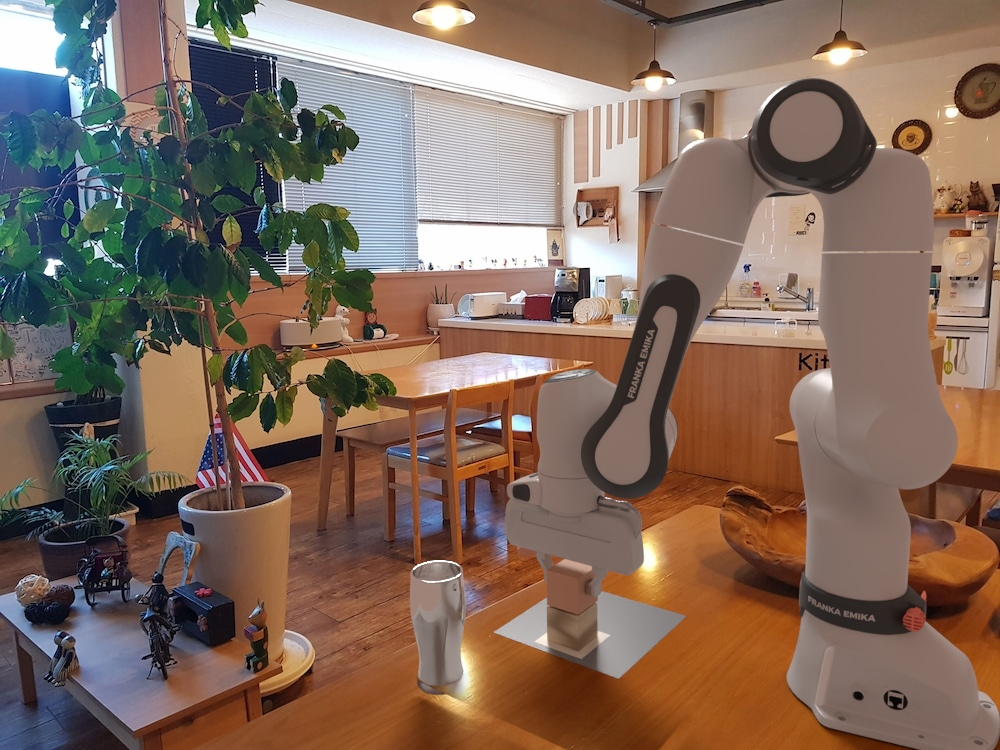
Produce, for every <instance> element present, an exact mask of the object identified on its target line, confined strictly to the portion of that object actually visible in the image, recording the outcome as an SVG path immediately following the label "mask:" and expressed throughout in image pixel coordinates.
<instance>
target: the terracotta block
mask: <svg viewBox="0 0 1000 750" xmlns="http://www.w3.org/2000/svg"><path fill="white" fill-rule="evenodd" d="M595 575H596V574H594V573H592V566H589V565H585V564H582V563H578V562H574V561H571V560H567V559H562V560H561V561H559V562H557V563H556V564H554V566H552V567H551V568H549V569H547V570H546V577H547V582H546V598H547V605H549V606H552V607H556V608H559V609H562V610H565V611H568V612H571V613H574V614H577V615H579V614H580V613H581V612H583V611H584V610H585V609H587V608H588V607H590V606H591V605H592V604H594V603H595V602H597V601H598V596H597V597H594V596H590V595H587V594H586V593H585V591H586V588H585V583H586V582H587V581H590V579H592V578H593V579H594V577H595Z"/></svg>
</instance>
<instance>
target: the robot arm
mask: <svg viewBox="0 0 1000 750" xmlns="http://www.w3.org/2000/svg"><path fill="white" fill-rule="evenodd" d="M877 145H878V142H877V138H876V137H875V135H874V134H873V131H872V130H871V128H870V126H869V124H868V123H867V121H866V119H865V117H864V116H863V113H862V112H861V109H860V108H859V106H858V104H857V102H856V101H855V100H854V98H853V97H852V96H851V95H850V94H849V92H848V91H847V90H846V89H844V88H843V87H841V86H840V85H839V84H837V83H835V82H833V81H830V80H828V79H825V78H824V79H823V78H814V77H813V78H812V77H810V78H809V77H808V78H801V79H796V80H794V81H791V82H789V83H787V84H785V85H783V86H781V87H779V88H777V89H776V90H775V91H773V92H772V93H771V94H770V95H769V96H768V97H767V98H766V99H765V100H764V102H763V103H762V104H761V105H760V107H759V108H758V111H757V112H756V114H755V117H754V118H753V122H752V125H751V131H750V132H749V133H747V134H746V135H744V136H743V137H740V138H736V139H728V138H724V137H718V136H717V137H716V136H715V137H705V138H701V139H697V140H695V141H692V142H691V143H689V144H687V145H686V146H684V148H683V149H682V151H681V152H680V154H679V155H678V157H677V159H676V162H675V163H674V165H673V168H672V169H671V172H670V173H669V176H668V178H667V181H666V183H665V185H664V188H663V190H662V192H661V196H660V199H659V201H658V204H657V205H656V206H657V207H656V209H655V213H654V216H653V219H652V223H651V226H650V230H649V234H648V237H647V242H646V246H645V247H646V248H645V253H644V257H643V258H644V259H643V265H642V273H641V282H640V292H639V299H638V309H637V314H636V321H635V326H634V329H633V333H632V336H631V339H630V343H629V346H628V349H627V352H626V355H625V359H624V361H623V366H622V368H621V371H620V375H619V377H618V382H617V384H615V383H613V382H611V381H610V380H609V379H607V378H605V377H603V375H601V373H600V372H598V371H597V370H595V369H591V368H590V369H589V368H579V369H572V370H566V371H562V372H560V373H556V374H553V375H552V376H550V377H549V378H547V379H545V381H543V383H542V384H541V386H540V389H539V393H538V399H537V407H536V408H537V409H536V439H537V443H538V446H539V452H540V453H539V460H538V463H537V472H535V473H531V474H529V475H528V474H527V475H526V476H522V477H520V478H518V479H516V480H514V481H512V482H510V483H508V484H507V486H506V493H507V497H508V498H509V500H508V501H507V503H506V506H505V515H504V518H505V519H504V521H505V522H504V525H505V526H504V529H505V537H506V539H507V541H508V542H509V544H510V545H512V546H516V547H518V548H519V547H520V548H524V549H526V550H531V551H535V552H536V560H537V562H538V563H539V565H540V567H541V569H542V571H543V581H544V583H547V577H546V570H547V569H549V568H551V567H552V566H554V565H555V563H554V562H553V559H552V557H555V558H560V559H562V560H564V559H567V560H571V561H574V562H578V563H582V564H585V565H589V566H592V573H594V574H596V575H595V577H594V579H593V578H592V579H590V581H587V582H586V583H585V588H586V591H585V593H586V594H587V595H590V596H594V597H597V596H598V595H600V594H601V591H602V582H603V581H604V579H605V577H606V576H607V574H608V572H611V573H615V574H619V575H622V576H630V575H631V574H633V573H635V572H636V571H637V570H639V569H640V568H641V567H642V566H643V564H644V562H645V553H644V542H643V534H642V529H643V522H642V521H643V518H642V513H640V511H639V510H638V508H636V507H635V506H633V505H632V503H631V502H629V501H626V500H627V499H628V500H629V499H630V500H631V499H633V500H634V499H638V498H642V497H645V496H647V495H648V494H650V493H652V492H653V491H655V490H656V489H657V488H658V487H659V486H660V485H661V484H662V482H663V480H664V478H665V477H666V474H667V471H668V466H669V460H670V458H671V455H672V453H673V450H674V448H675V445H676V442H677V439H678V432H679V429H678V422H677V419H676V417H675V416H676V415H674V413H673V411H672V410H671V409H670V403H671V400H672V398H673V395H674V390H675V388H676V385H677V381H678V378H679V375H680V373H681V368H682V365H683V362H684V360H685V359H684V358H685V356H686V353H687V351H688V349H689V347H690V344H691V342H692V340H693V338H694V336H696V334H697V331H698V330H699V328H700V327H701V325H702V324H703V322H705V319H706V318H707V317H708V316H709V314H710V313H712V312H711V311H712V310H713V309H714V308H715V307H716V305H717V304H718V302H719V301H720V299H721V297H722V296H723V294H724V293H725V291H726V289H727V287H728V285H729V283H730V281H731V279H732V276H733V274H734V273H735V270H736V268H737V265H738V263H739V260H740V257H741V254H742V252H743V248H744V245H745V242H746V239H747V235H748V233H749V232H748V231H749V229H750V226H751V222H752V220H753V218H754V215H755V213H756V210H757V208H758V207H759V206H760V204H761V203H762V201H763V200H764V199H767V198H779V197H798V196H805V195H809V194H811V195H813V196H814V198H816V200H817V201H818V202H819V205H820V208H821V211H822V217H823V218H822V219H823V237H822V238H823V239H822V247H821V248H822V249H821V252H822V253H821V261H820V262H821V264H820V277H819V278H820V281H819V296H818V311H817V312H818V313H817V320H818V325H819V329H820V331H821V332H822V335H823V338H824V343H825V345H826V350H827V351H826V352H827V356H828V362H829V367H827V368H822V369H817V370H814V371H812V372H810V373H808V374H806V375H804V376H803V377H802V378H801V379H800V380H799V381H798V382H797V384H796V385H794V388H793V390H792V393H791V395H790V398H789V403H788V404H789V406H788V407H789V415H790V416H791V417H790V418H791V421H792V422H793V426H794V430H795V433H796V438H797V439H796V441H797V447H798V455H799V464H800V470H801V476H802V483H803V490H804V496H805V505H806V506H805V507H806V542H805V544H806V546H805V570H804V571H802V572H801V578H800V582H799V594H798V597H799V598H798V605H799V606H798V607H799V616H800V617H801V619H800V626H799V633H798V637H797V643H796V646H795V650H794V653H793V656H792V660H791V663H790V666H789V668H788V670H787V672H786V682H787V685H788V687H789V689H790V690H791V692H792V693H793V694H794V695H795V696H796V697H797V698H798V699H799V700H800V701H802V702H803V703H804V704H805V705H807V706H808V708H810V709H811V711H812V712H813V714H814V716H815V718H816V719H817V721H818V722H819V723H820V724H821V725H822V726H824V727H826V728H829V729H833V730H836V731H837V730H838V731H842V732H845V733H849V734H853V735H858V736H862V737H865V738H870V739H874V740H879V741H883V742H886V743H887V742H888V743H892V744H896V745H899V746H904V747H907V748H912V749H916V750H994V749H995V748H996V747H997V744H998V743H999V739H1000V712H999V709H998V707H997V704H996V703H995V702H994V701H993V699H992V698H991V697H990V695H988V694H987V693H985V692H983V691H981V690H979V688H978V681H977V677H976V674H975V673H976V672H975V670H974V666H973V664H972V662H971V660H970V659H969V657H968V656H967V655H966V654H965V653H964V652H963V651H961V650H960V649H959V648H958V647H956V645H954V644H953V643H951V641H950V640H948V639H947V638H946V637H945V636H943V635H942V634H941V632H939V631H937V629H935V628H934V627H933V626H932V625H931V624H929V623H928V622H927V621H926V620H927V596H928V595H927V592H926V591H925V590H923V591H922V593H921V595H920V594H918V593H917V592H916V590H914V589H913V588H912V587H911V586H910V585H909V584H908V580H909V579H908V578H909V566H910V550H911V549H910V548H911V537H912V535H911V533H912V527H911V526H912V525H911V521H910V517H909V515H908V512H907V510H906V508H905V506H904V504H903V501H902V497H901V494H900V490H915V489H916V490H917V489H920V488H923V487H926V486H929V485H931V484H933V483H934V482H936V481H938V480H939V479H941V477H942V476H944V475H945V474H946V473H947V471H948V470H949V469H950V468H951V466H952V464H953V463H954V460H955V458H956V455H957V451H958V446H959V438H958V437H959V435H958V431H957V427H956V425H955V423H954V421H953V419H952V418H951V416H950V415H949V413H948V411H947V409H946V408H945V405H944V403H943V401H942V397H941V395H940V394H941V393H940V391H939V385H938V381H937V376H936V372H935V367H934V366H935V365H934V361H933V360H934V359H933V355H932V349H931V342H930V333H929V308H930V307H929V306H930V305H929V304H930V289H931V288H930V287H931V278H932V277H931V276H932V275H931V274H932V264H933V251H934V238H935V237H934V235H935V234H934V233H935V226H934V225H935V216H934V215H935V214H934V213H935V212H934V211H935V210H934V199H933V197H934V196H933V187H932V181H931V173H930V169H929V167H928V165H927V163H926V162H925V161H924V160H923V159H922V158H921V157H920V156H918V155H916V154H914V153H912V152H911V151H907V150H905V149H900V148H890V147H886V148H885V147H877ZM692 232H693V233H692ZM696 233H697V234H696ZM705 235H706V236H705ZM708 236H709V237H708ZM721 239H722V240H721ZM733 242H734V243H733ZM823 252H824V253H823ZM825 252H826V253H825ZM827 252H829V253H827ZM834 252H835V253H834ZM837 252H839V253H837ZM845 252H846V253H845ZM847 252H849V253H847ZM605 494H606V495H609V496H612V497H615V498H618V499H626V500H616V499H614V498H611V497H606V496H605Z"/></svg>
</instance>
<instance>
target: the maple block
mask: <svg viewBox="0 0 1000 750" xmlns="http://www.w3.org/2000/svg"><path fill="white" fill-rule="evenodd" d="M597 636H598V619H597V602H595V603H594V604H592V605H591V606H590V607H588V608H587V609H585V610H584V611H583V612H581V613H580V614H579V615H577V614H574V613H571V612H568V611H565V610H562V609H559V608H556V607H552V606H549V605H548V606H547V641H550V642H553V643H555V644H558V645H561V646H564V647H567V648H569V649H572V650H575V651H580V650H581V649H582V648H583V647H585V646H586V645H587V644H588V643H590V642H591V641H592V640H594V639H595V638H596V637H597Z"/></svg>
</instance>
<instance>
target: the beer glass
mask: <svg viewBox="0 0 1000 750" xmlns="http://www.w3.org/2000/svg"><path fill="white" fill-rule="evenodd" d="M409 574H410V581H409V584H410V585H409V607H410V617H411V618H410V619H411V623H412V628H413V629H412V630H413V633H414V637H415V641H416V645H417V650H418V656H419V659H418V660H419V661H418V662H419V665H418V671H417V678H418V680H416V684H417V687H418V688H419V690H421V691H422V692H423V693H426V694H429V695H432V696H433V695H434V696H445V695H446V693H445V692H443V691H441V690H438V689H436V688H434V687H444V686H449V685H452V684H455V683H456V682H458V681H459V680H460V679H461V678H462V677H463V676H464V667H463V662H462V654H461V653H462V643H463V637H464V636H463V634H464V628H465V621H466V611H467V610H466V609H467V607H466V606H467V605H466V601H467V600H466V590H465V589H466V588H465V580H464V568H463V566H461V565H460V564H459V563H457V562H453V561H450V560H430V561H427V562H422V563H420V564H417V565H416V566H414V567H413V568H412V569H411V570H410V573H409ZM431 686H432V687H431Z"/></svg>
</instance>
